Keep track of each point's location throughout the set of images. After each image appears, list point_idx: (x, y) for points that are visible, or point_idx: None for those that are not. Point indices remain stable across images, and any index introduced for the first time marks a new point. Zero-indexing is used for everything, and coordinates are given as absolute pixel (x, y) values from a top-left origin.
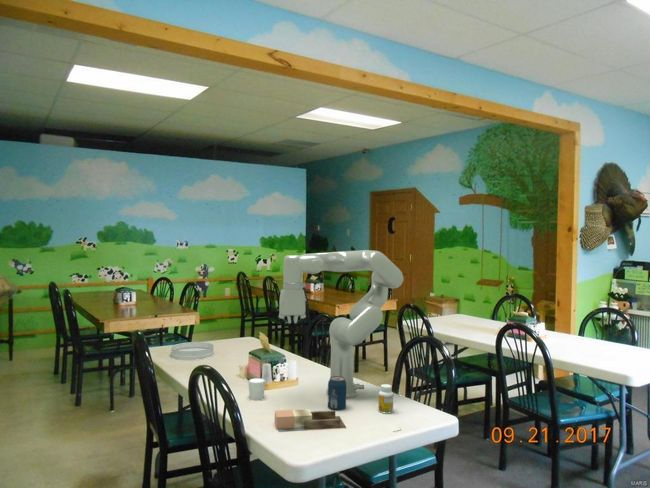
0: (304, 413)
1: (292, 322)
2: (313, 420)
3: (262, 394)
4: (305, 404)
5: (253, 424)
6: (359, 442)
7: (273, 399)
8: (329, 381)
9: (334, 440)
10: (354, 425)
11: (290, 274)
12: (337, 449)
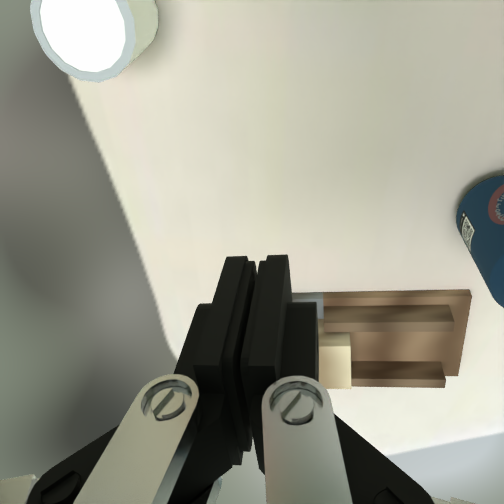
0: (327, 374)
1: (251, 379)
2: (354, 382)
3: (148, 44)
4: (367, 130)
5: (169, 301)
6: (463, 424)
7: (212, 48)
8: (498, 287)
9: (398, 408)
10: (500, 339)
11: None
12: (392, 441)
